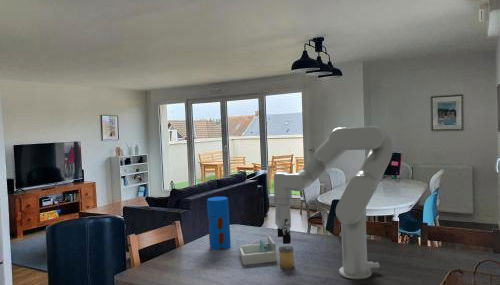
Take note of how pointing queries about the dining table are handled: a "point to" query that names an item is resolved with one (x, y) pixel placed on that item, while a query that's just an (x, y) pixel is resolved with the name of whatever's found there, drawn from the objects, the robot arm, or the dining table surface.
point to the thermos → (218, 223)
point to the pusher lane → (258, 253)
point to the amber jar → (286, 257)
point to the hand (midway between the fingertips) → (284, 240)
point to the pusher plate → (263, 246)
